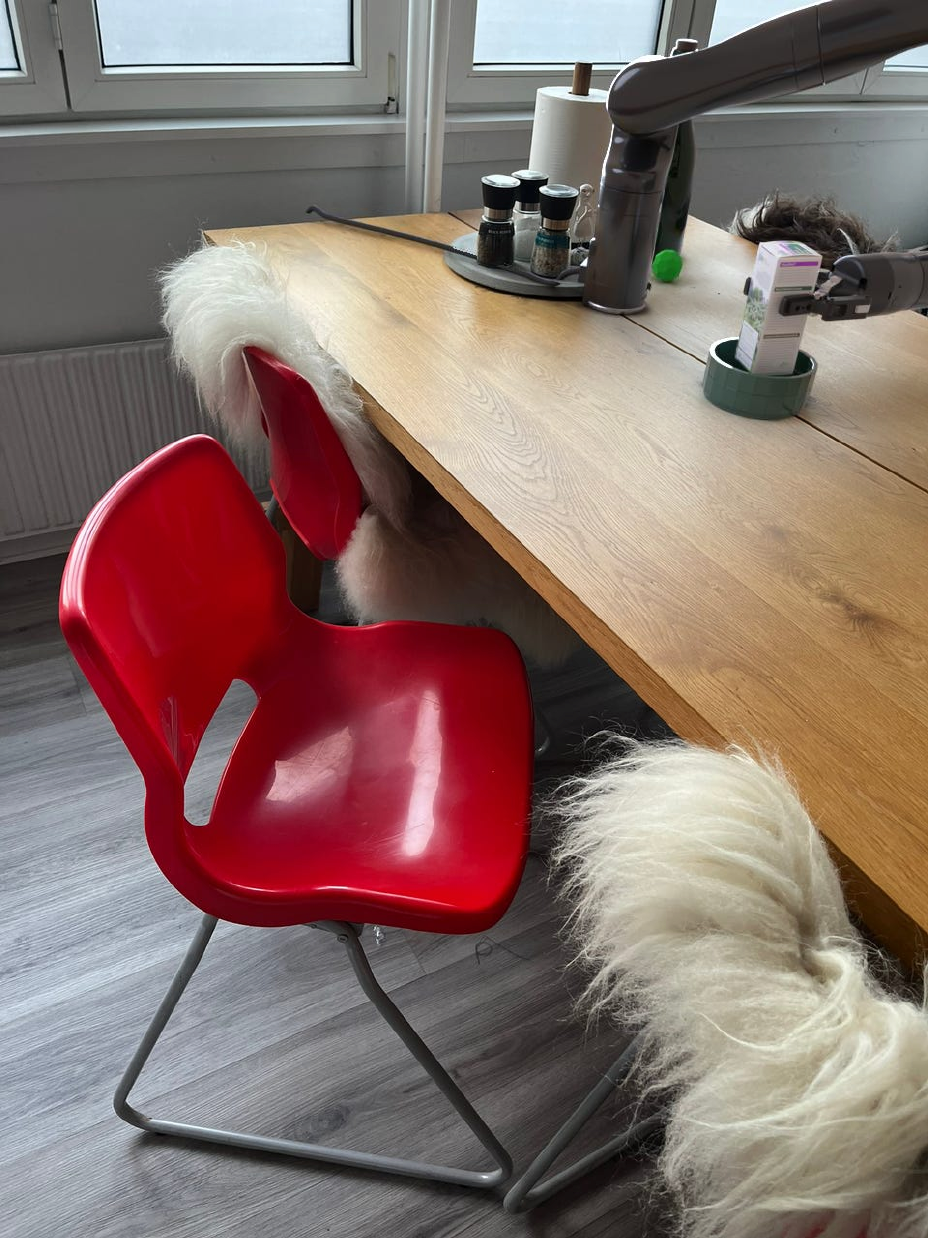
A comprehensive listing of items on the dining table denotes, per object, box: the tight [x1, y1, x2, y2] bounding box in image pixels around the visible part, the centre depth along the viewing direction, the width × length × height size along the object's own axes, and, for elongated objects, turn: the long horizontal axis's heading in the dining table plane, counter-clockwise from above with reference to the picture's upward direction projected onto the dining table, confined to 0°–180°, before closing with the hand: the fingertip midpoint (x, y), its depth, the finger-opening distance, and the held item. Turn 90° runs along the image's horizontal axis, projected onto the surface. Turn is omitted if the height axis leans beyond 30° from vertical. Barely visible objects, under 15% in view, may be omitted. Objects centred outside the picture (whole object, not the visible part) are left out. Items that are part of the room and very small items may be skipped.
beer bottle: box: [652, 38, 699, 262], centre depth 159 cm, size 10×10×33 cm
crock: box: [701, 336, 819, 421], centre depth 119 cm, size 13×13×6 cm
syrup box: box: [735, 240, 823, 375], centre depth 114 cm, size 6×6×14 cm
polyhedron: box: [651, 250, 684, 283], centre depth 156 cm, size 5×5×5 cm
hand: (764, 296), depth 112 cm, fingers closed on syrup box, 6 cm apart
